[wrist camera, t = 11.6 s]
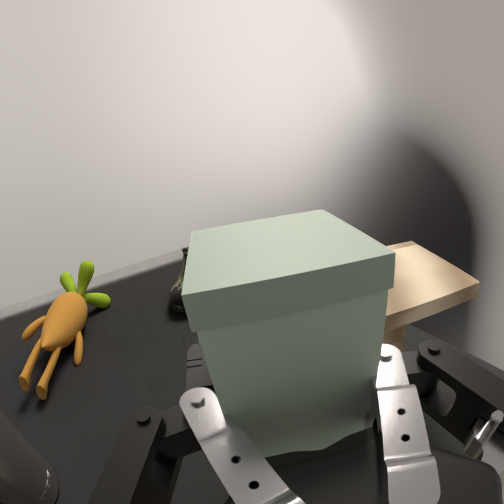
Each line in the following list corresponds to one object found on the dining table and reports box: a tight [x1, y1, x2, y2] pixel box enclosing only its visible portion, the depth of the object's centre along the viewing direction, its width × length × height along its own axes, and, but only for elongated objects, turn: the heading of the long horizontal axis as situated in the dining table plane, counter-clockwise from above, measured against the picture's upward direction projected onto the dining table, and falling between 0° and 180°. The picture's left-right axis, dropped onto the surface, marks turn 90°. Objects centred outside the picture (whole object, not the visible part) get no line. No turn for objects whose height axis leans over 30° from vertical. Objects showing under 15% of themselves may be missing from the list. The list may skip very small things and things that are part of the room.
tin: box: [181, 210, 396, 458], centre depth 11 cm, size 5×5×12 cm
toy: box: [19, 260, 111, 400], centre depth 44 cm, size 13×14×30 cm
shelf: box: [383, 241, 480, 352], centre depth 24 cm, size 15×10×17 cm, turn 99°
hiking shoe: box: [168, 247, 189, 313], centre depth 60 cm, size 8×21×9 cm, turn 174°
